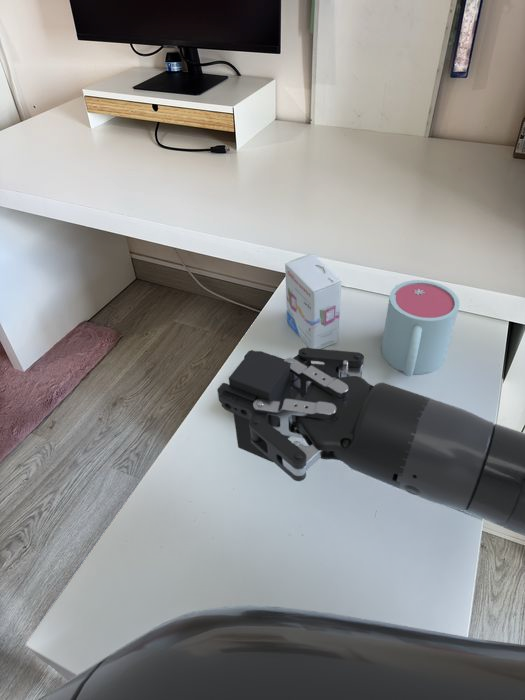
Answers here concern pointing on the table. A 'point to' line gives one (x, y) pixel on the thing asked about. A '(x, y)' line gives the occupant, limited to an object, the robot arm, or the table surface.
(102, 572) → the table surface
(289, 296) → the ink box
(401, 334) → the mug
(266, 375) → the block
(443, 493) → the robot arm
